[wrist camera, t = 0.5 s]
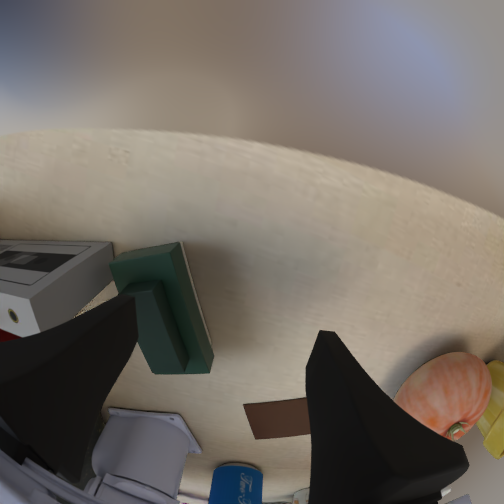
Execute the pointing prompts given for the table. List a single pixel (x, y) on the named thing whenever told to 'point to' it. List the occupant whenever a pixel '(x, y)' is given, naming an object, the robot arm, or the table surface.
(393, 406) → the robot arm
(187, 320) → the scrub brush
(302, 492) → the mug
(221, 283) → the table surface
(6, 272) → the cassette player
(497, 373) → the flower pot
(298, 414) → the square plate
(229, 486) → the beverage can
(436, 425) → the tomato
